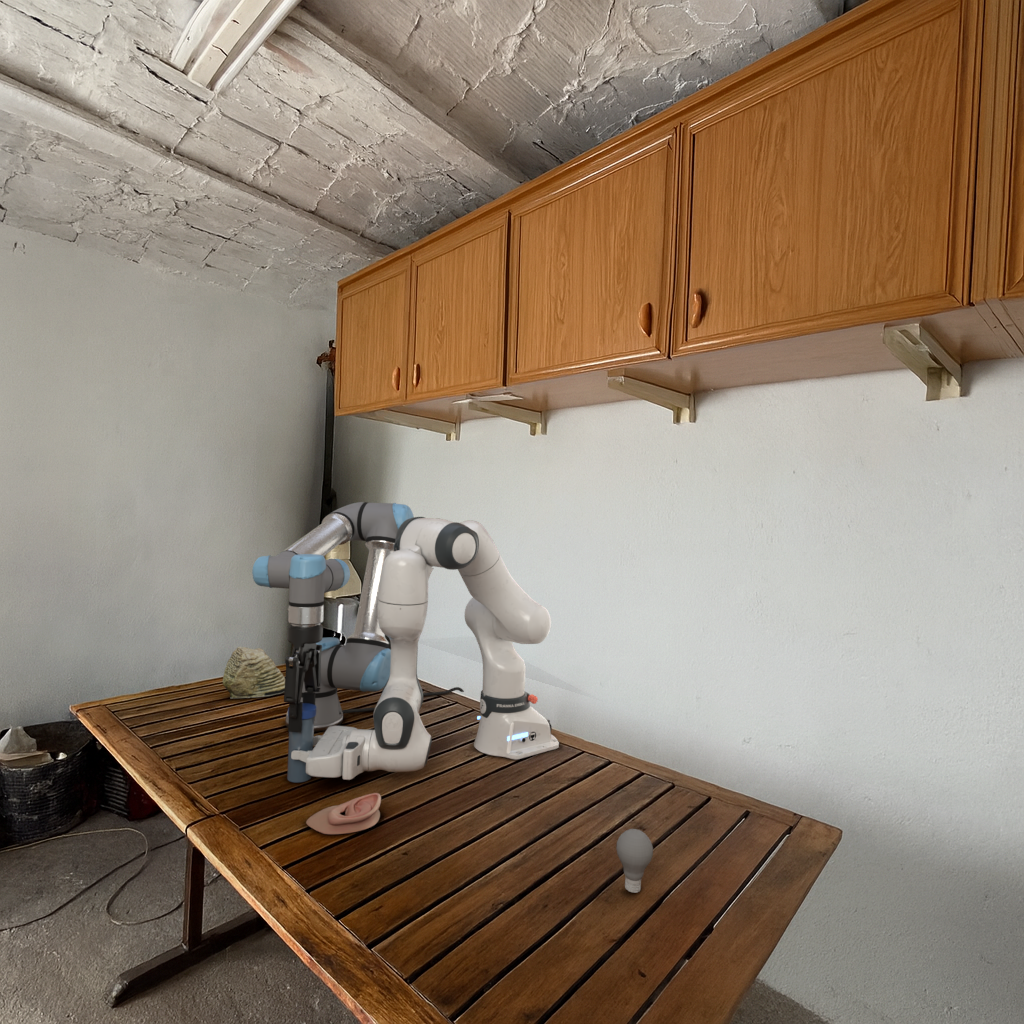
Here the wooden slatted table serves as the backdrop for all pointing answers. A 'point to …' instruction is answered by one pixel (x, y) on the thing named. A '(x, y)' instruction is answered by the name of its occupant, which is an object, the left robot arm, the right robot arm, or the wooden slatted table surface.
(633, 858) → the light bulb
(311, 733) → the jar
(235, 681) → the fossil
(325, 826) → the anatomical model
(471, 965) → the wooden slatted table surface
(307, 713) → the lid
